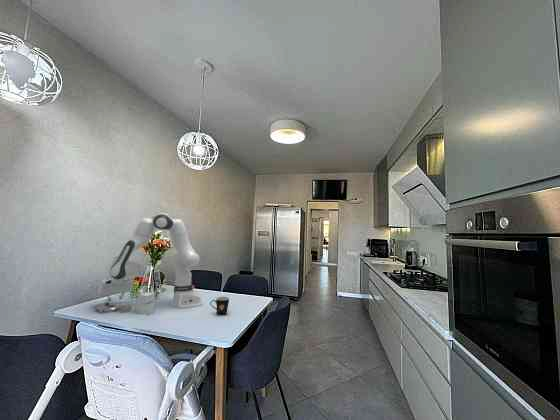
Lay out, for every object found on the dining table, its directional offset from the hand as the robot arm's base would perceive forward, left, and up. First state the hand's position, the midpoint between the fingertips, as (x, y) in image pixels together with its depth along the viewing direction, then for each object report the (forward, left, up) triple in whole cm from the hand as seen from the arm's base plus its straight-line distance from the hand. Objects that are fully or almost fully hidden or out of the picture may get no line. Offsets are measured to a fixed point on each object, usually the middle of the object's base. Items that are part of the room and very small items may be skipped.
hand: (115, 299), depth 162 cm
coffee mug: (-67, +31, -5) cm, 74 cm away
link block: (-10, +16, -5) cm, 20 cm away
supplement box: (-21, +19, -5) cm, 29 cm away
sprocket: (0, +8, -3) cm, 9 cm away
